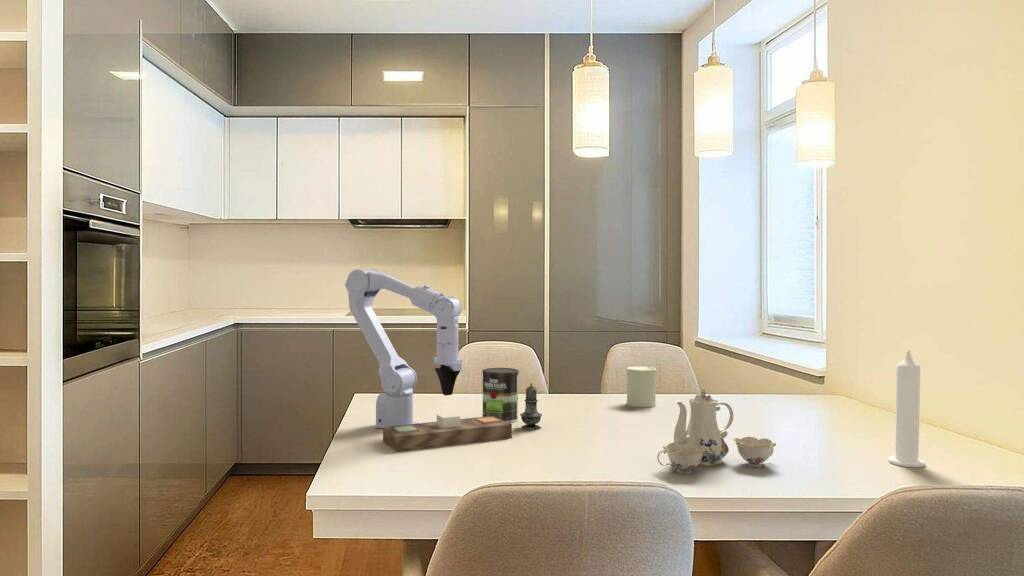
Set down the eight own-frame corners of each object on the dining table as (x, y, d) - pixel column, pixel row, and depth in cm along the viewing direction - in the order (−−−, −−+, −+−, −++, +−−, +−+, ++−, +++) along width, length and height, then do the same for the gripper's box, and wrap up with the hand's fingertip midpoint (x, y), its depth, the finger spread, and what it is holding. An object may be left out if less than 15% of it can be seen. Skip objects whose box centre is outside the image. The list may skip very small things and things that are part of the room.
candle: (881, 459, 156) (883, 348, 155) (911, 458, 156) (913, 348, 156) (901, 468, 149) (903, 351, 148) (932, 467, 149) (934, 351, 149)
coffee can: (510, 425, 189) (510, 373, 189) (476, 421, 193) (476, 371, 193) (524, 417, 199) (524, 368, 198) (491, 414, 203) (491, 366, 202)
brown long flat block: (396, 451, 161) (396, 436, 161) (383, 441, 171) (383, 427, 171) (511, 437, 175) (511, 423, 175) (492, 428, 184) (492, 415, 184)
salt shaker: (540, 430, 182) (540, 385, 182) (518, 429, 184) (518, 384, 183) (543, 425, 188) (543, 381, 188) (522, 424, 189) (522, 381, 189)
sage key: (399, 444, 165) (399, 431, 165) (394, 440, 169) (394, 427, 168) (417, 442, 167) (417, 429, 167) (411, 438, 171) (411, 425, 170)
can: (658, 407, 214) (658, 368, 214) (628, 407, 214) (628, 368, 214) (652, 402, 223) (653, 364, 223) (624, 401, 223) (624, 364, 223)
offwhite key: (443, 431, 170) (443, 418, 170) (436, 427, 174) (436, 414, 173) (459, 429, 172) (459, 416, 172) (452, 425, 176) (452, 413, 175)
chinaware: (679, 489, 139) (686, 409, 137) (633, 460, 154) (638, 387, 152) (786, 473, 150) (793, 399, 148) (733, 447, 165) (739, 379, 163)
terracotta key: (484, 434, 175) (484, 422, 175) (476, 431, 179) (476, 418, 179) (499, 432, 177) (499, 420, 177) (492, 429, 181) (492, 417, 181)
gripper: (472, 345, 177) (472, 398, 178) (451, 340, 190) (451, 389, 190) (447, 346, 174) (447, 400, 174) (426, 341, 187) (426, 391, 187)
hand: (447, 394), depth 182 cm, fingers closed
